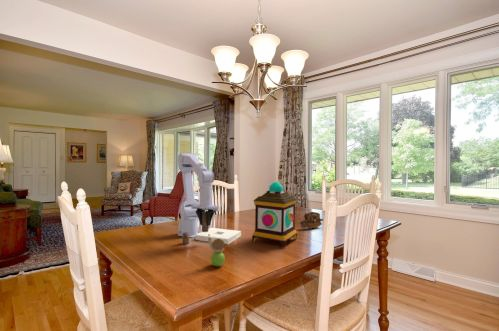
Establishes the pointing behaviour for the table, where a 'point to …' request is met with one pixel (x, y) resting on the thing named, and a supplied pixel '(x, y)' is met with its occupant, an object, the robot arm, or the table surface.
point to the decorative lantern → (275, 215)
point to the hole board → (219, 235)
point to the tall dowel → (204, 222)
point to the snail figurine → (217, 251)
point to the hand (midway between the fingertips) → (205, 225)
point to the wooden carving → (311, 220)
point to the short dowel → (185, 238)
